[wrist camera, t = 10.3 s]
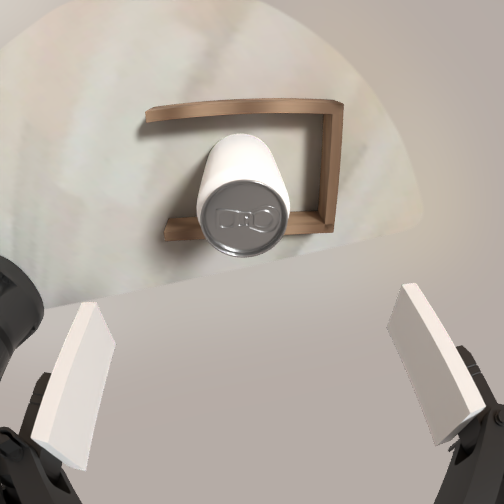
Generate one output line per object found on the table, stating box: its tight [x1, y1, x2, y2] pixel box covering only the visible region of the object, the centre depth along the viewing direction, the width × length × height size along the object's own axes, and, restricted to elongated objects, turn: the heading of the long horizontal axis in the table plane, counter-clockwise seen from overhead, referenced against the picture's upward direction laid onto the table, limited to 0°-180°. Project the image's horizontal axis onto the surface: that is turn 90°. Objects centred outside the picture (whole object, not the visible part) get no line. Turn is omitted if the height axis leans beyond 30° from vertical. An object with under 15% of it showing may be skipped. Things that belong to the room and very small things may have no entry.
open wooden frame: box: [145, 98, 344, 241], centre depth 29 cm, size 17×13×3 cm
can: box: [197, 134, 290, 257], centre depth 25 cm, size 6×6×12 cm
